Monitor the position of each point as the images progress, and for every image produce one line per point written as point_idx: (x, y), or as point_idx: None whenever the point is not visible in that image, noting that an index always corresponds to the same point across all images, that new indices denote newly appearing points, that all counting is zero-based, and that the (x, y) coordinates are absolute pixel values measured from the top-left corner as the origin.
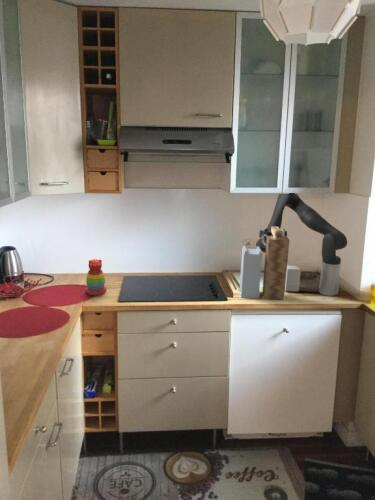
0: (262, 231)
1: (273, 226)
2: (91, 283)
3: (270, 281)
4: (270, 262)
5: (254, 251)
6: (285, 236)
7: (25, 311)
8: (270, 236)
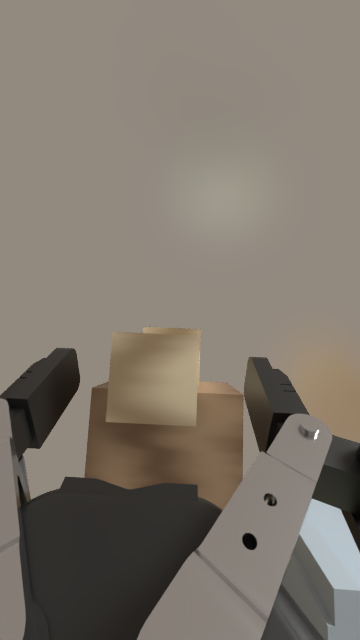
0: (341, 443)
1: (173, 334)
2: None
3: None
4: None
5: (337, 545)
6: (102, 387)
7: None
8: (216, 390)
